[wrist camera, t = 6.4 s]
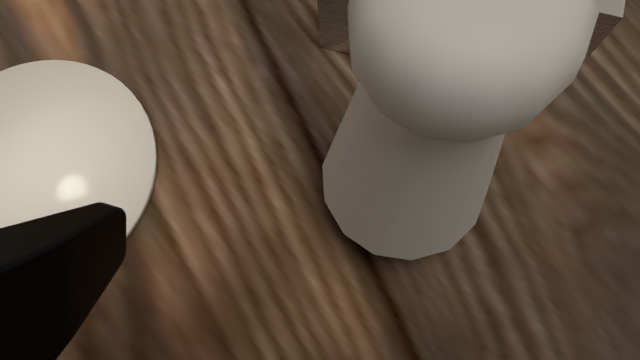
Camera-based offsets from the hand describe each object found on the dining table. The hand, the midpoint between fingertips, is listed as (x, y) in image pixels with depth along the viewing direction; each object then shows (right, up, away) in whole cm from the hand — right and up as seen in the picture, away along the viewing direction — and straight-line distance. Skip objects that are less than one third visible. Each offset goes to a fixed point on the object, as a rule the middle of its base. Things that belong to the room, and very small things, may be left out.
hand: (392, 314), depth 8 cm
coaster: (-13, +2, +14) cm, 19 cm away
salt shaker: (+2, +1, +13) cm, 13 cm away
